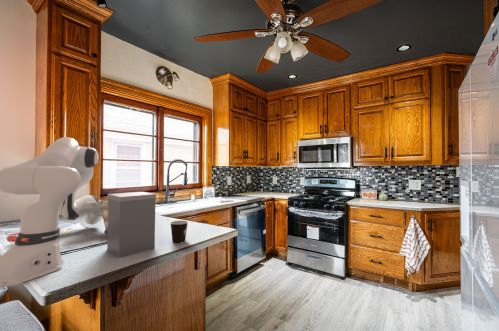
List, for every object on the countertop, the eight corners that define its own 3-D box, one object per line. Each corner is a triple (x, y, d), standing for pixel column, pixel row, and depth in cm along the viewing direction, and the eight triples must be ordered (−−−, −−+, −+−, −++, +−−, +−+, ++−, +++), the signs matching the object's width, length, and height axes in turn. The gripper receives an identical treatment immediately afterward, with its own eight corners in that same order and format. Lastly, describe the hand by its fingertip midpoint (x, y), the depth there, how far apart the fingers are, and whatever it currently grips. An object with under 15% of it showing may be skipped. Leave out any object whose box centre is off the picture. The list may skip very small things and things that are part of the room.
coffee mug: (179, 237, 133) (180, 219, 133) (190, 240, 128) (191, 222, 128) (161, 243, 123) (162, 223, 123) (172, 246, 118) (172, 226, 118)
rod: (98, 204, 139) (100, 201, 137) (106, 204, 142) (108, 200, 140) (105, 238, 130) (107, 234, 128) (114, 236, 133) (116, 233, 131)
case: (106, 249, 113) (107, 194, 113) (141, 241, 125) (142, 191, 125) (118, 257, 103) (119, 197, 103) (155, 248, 116) (156, 194, 116)
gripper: (77, 207, 137) (84, 197, 129) (116, 203, 152) (124, 194, 144) (79, 217, 134) (86, 208, 127) (118, 212, 150) (126, 203, 142)
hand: (107, 200), depth 136 cm, fingers open, 4 cm apart
